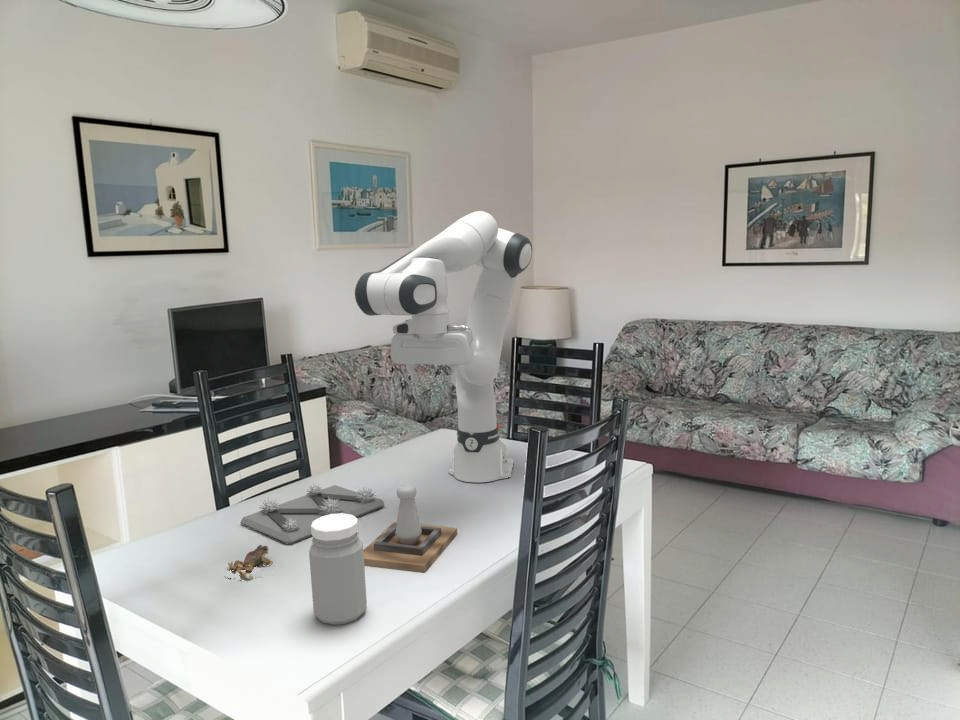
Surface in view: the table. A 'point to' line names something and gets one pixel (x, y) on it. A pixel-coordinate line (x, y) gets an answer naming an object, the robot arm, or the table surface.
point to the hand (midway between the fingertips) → (433, 382)
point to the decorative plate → (309, 511)
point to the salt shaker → (407, 516)
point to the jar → (337, 569)
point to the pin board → (408, 549)
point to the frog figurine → (250, 563)
